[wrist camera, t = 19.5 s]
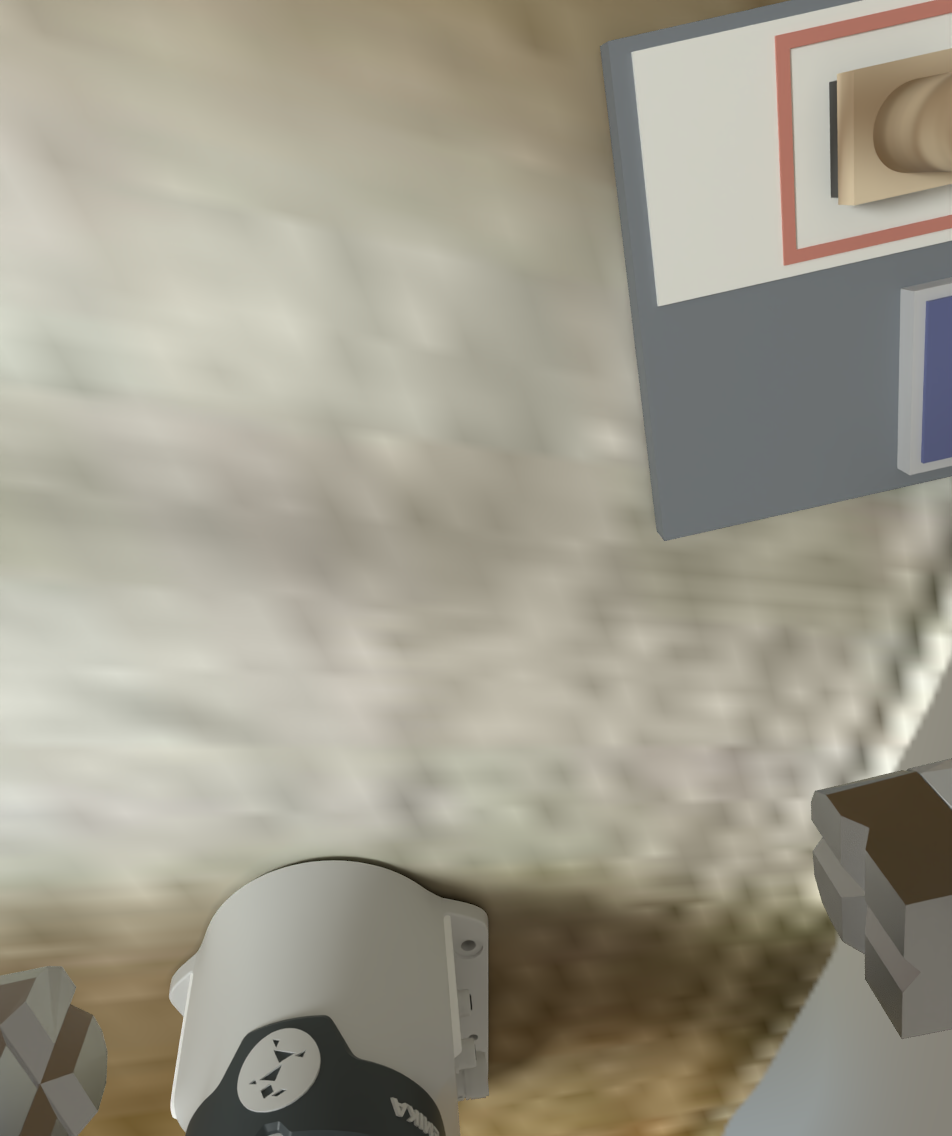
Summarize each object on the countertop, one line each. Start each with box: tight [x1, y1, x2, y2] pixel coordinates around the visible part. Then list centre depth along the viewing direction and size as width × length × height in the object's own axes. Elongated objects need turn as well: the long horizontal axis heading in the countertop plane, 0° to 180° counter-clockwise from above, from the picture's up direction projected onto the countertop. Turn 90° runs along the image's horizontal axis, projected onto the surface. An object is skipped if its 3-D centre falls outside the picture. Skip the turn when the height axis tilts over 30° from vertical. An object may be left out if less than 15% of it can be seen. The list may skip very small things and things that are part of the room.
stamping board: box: [600, 0, 952, 541], centre depth 34 cm, size 20×20×2 cm
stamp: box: [829, 48, 952, 206], centre depth 28 cm, size 4×4×8 cm
